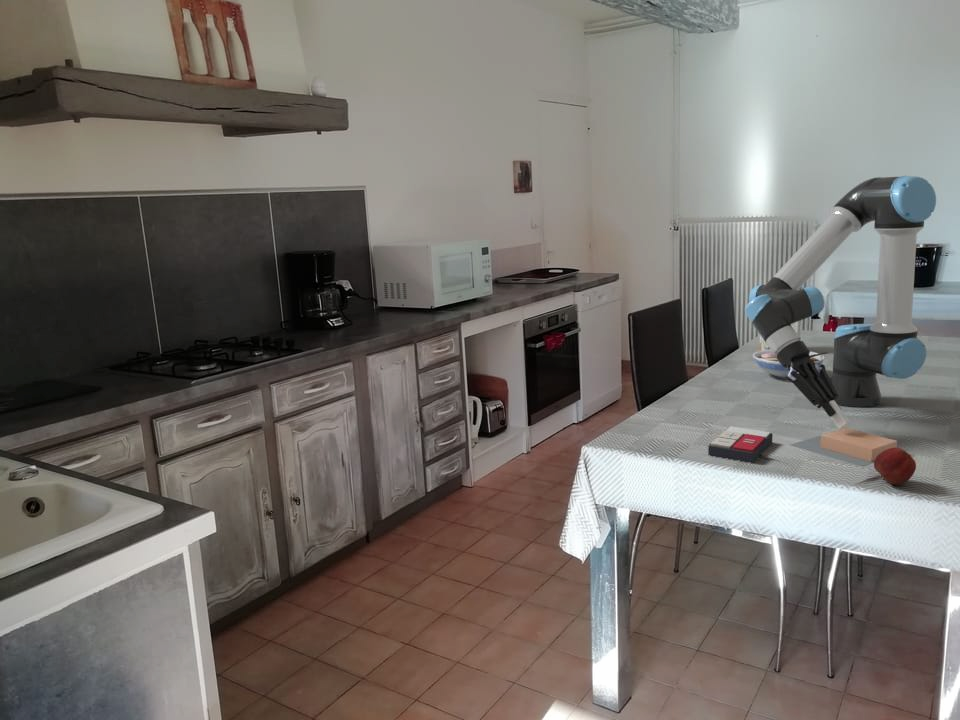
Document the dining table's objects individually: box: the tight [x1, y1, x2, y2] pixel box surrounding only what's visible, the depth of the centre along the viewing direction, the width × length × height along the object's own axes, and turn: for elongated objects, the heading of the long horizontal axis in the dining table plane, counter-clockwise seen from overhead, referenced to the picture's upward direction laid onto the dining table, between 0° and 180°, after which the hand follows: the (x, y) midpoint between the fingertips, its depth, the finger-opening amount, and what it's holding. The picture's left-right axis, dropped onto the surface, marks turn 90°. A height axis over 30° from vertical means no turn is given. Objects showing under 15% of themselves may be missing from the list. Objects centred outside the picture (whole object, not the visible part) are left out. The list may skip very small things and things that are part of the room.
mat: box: [790, 432, 908, 467], centre depth 183 cm, size 18×19×1 cm
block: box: [820, 427, 898, 462], centre depth 181 cm, size 10×3×13 cm
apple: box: [873, 447, 917, 486], centre depth 162 cm, size 7×8×8 cm
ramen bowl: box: [752, 349, 828, 380], centre depth 257 cm, size 25×23×8 cm
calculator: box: [707, 426, 773, 464], centre depth 186 cm, size 11×4×15 cm
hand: (844, 425), depth 183 cm, fingers closed
